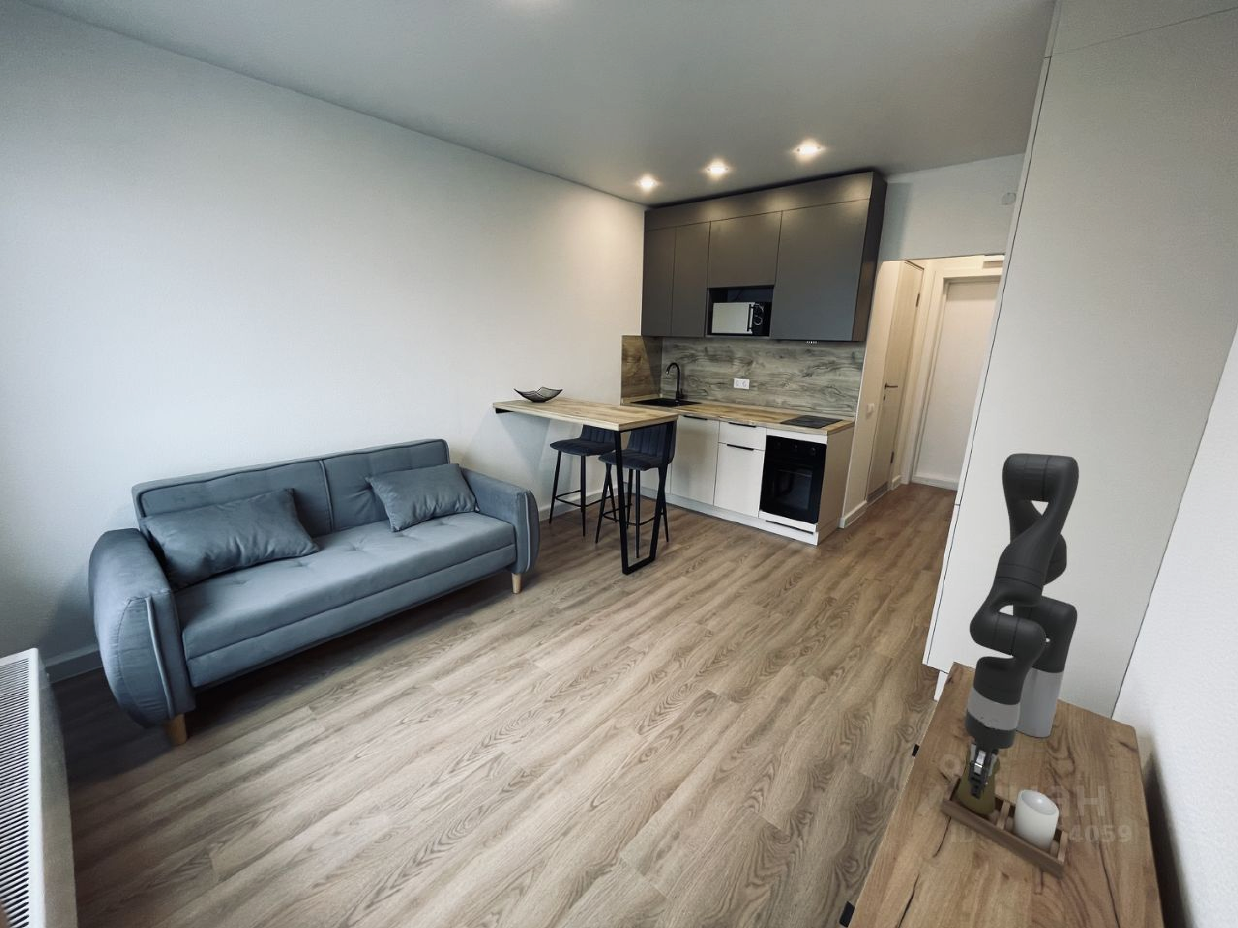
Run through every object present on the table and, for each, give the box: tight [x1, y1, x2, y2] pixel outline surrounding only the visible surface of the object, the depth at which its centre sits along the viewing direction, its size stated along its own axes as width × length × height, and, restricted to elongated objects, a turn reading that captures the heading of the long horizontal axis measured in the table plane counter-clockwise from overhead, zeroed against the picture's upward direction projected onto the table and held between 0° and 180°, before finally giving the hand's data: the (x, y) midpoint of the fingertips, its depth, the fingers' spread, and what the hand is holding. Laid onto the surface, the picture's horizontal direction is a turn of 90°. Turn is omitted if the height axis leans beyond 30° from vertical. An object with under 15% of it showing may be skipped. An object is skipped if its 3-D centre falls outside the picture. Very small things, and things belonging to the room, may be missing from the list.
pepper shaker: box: [957, 746, 1001, 814], centre depth 94 cm, size 6×6×11 cm
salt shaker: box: [1011, 789, 1060, 855], centre depth 88 cm, size 6×6×10 cm
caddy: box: [940, 773, 1069, 880], centre depth 92 cm, size 9×18×4 cm, turn 44°
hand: (977, 790), depth 94 cm, fingers closed on pepper shaker, 3 cm apart
